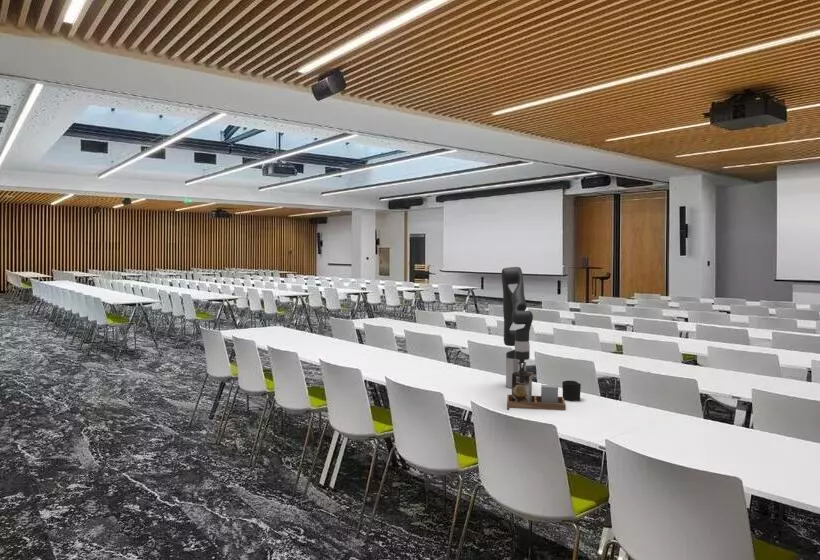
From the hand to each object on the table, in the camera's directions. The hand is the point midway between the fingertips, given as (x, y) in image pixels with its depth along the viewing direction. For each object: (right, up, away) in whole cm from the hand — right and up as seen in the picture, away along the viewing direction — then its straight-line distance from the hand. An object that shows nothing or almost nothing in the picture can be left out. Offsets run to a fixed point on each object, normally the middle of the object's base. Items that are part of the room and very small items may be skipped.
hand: (521, 381), depth 297 cm
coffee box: (0, -12, +1) cm, 12 cm away
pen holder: (+28, -13, +11) cm, 33 cm away
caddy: (+7, -13, -1) cm, 15 cm away
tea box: (+14, -12, -2) cm, 18 cm away
